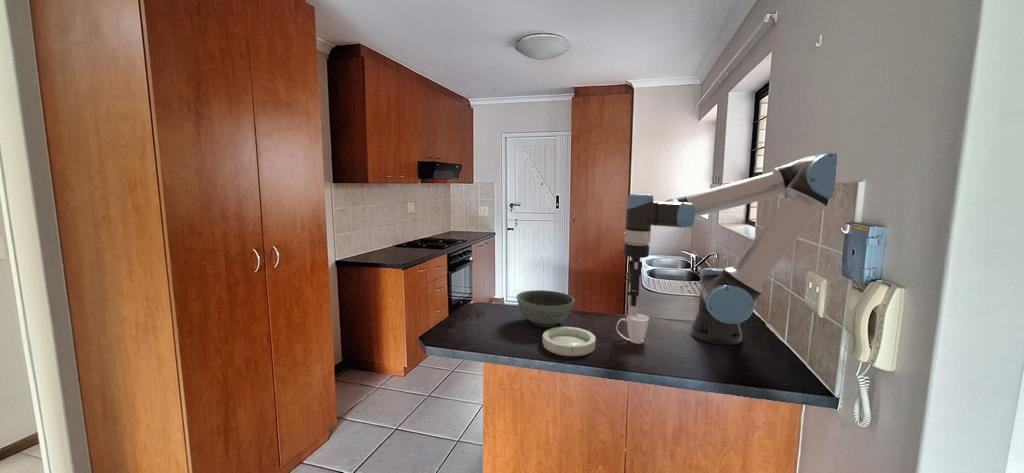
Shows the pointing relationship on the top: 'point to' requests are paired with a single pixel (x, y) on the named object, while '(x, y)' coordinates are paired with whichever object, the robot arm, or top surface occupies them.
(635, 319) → the cup
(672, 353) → the top surface
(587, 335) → the tray
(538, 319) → the bowl
